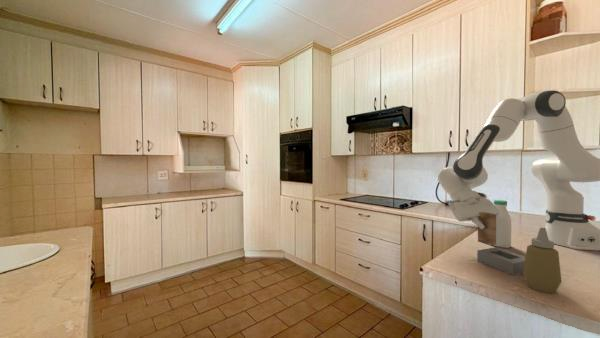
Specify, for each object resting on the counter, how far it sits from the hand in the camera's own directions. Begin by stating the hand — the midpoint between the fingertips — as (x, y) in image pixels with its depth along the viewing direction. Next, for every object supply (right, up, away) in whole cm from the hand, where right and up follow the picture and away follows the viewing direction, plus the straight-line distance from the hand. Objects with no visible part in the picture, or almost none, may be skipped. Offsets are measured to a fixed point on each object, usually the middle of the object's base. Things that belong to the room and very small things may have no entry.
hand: (488, 227), depth 96 cm
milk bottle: (+14, -11, +11) cm, 21 cm away
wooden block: (0, -6, +1) cm, 6 cm away
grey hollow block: (-2, -11, -9) cm, 15 cm away
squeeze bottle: (-4, -12, -25) cm, 28 cm away
